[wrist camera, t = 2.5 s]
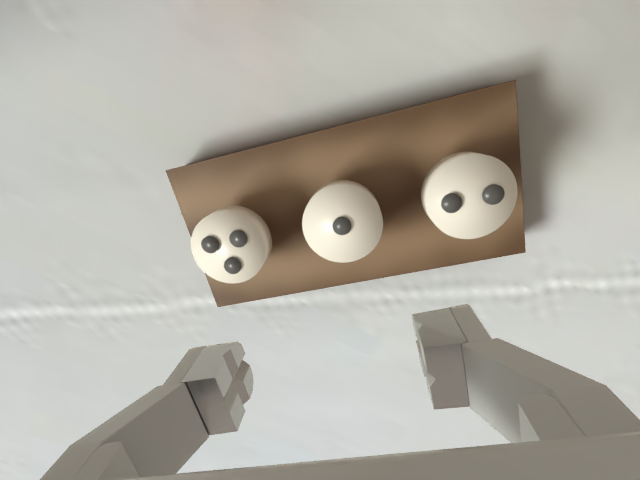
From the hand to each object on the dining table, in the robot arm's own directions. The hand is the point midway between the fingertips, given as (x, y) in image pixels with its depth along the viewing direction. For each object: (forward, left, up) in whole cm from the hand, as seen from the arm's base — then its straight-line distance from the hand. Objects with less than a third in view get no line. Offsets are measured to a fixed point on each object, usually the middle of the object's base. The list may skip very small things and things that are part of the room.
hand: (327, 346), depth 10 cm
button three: (0, -8, -14) cm, 16 cm away
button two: (0, +8, -14) cm, 16 cm away
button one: (0, 0, -14) cm, 14 cm away
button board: (0, 0, -19) cm, 19 cm away
